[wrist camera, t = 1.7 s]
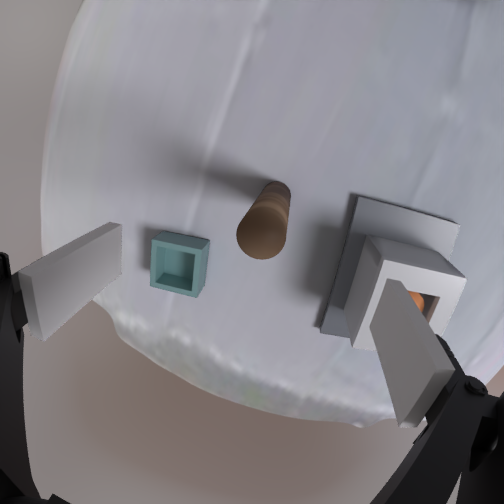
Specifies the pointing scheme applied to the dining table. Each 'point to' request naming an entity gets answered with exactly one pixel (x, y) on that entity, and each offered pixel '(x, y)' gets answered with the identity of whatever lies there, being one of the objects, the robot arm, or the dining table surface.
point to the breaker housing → (392, 268)
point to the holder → (179, 263)
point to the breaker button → (417, 299)
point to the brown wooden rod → (265, 223)
